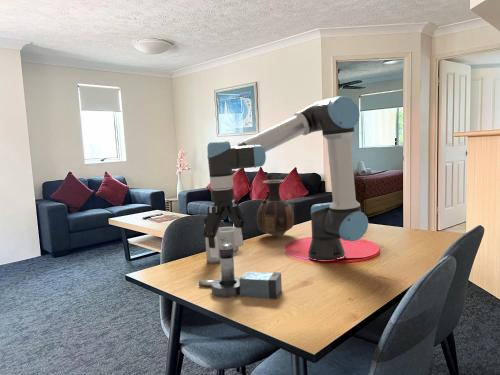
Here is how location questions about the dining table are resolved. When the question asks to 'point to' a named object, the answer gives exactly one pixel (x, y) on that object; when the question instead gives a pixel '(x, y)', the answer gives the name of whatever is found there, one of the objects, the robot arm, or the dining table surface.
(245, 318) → the dining table surface
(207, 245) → the travel mug
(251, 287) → the grey machined bracket
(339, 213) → the robot arm
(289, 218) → the vase
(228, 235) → the mug
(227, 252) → the grey capped bottle
